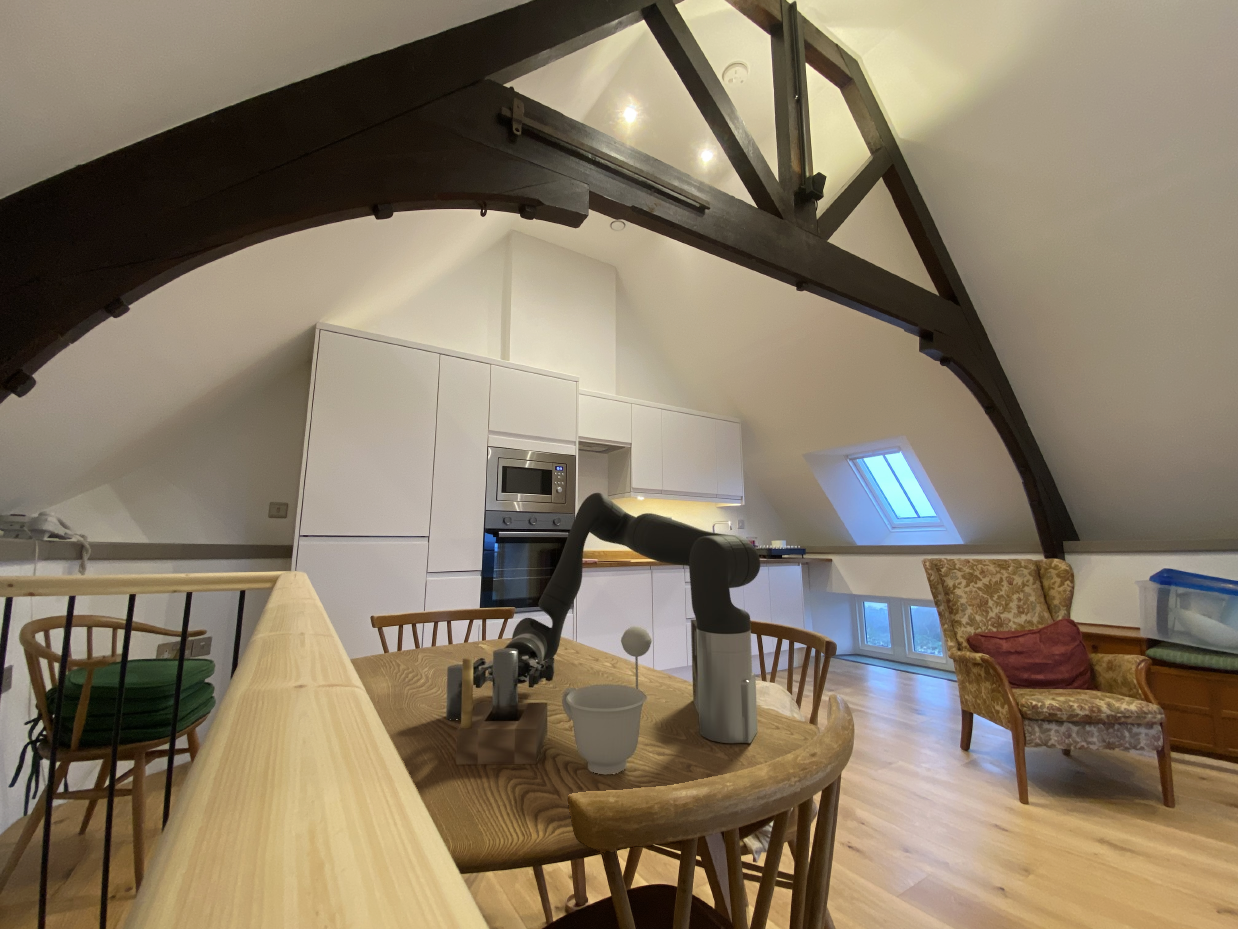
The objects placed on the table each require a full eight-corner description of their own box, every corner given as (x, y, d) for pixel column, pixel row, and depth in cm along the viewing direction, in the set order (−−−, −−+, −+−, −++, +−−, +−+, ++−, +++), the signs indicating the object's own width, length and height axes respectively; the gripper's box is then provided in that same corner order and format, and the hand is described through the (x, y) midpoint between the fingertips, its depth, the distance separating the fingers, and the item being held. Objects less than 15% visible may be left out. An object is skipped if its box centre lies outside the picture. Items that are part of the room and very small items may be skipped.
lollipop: (617, 707, 105) (617, 628, 106) (626, 698, 110) (625, 623, 112) (648, 710, 103) (647, 629, 105) (655, 700, 108) (654, 624, 110)
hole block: (547, 733, 92) (547, 642, 94) (536, 763, 80) (536, 659, 82) (477, 733, 92) (479, 643, 94) (455, 764, 80) (458, 660, 82)
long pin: (522, 744, 87) (522, 649, 89) (507, 754, 84) (508, 655, 85) (502, 740, 89) (503, 647, 90) (486, 750, 85) (487, 652, 87)
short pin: (472, 714, 101) (473, 665, 102) (458, 721, 98) (459, 670, 99) (456, 712, 103) (457, 663, 104) (441, 718, 100) (442, 668, 101)
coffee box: (732, 715, 100) (729, 626, 101) (697, 715, 100) (695, 626, 102) (724, 699, 109) (721, 617, 111) (692, 699, 109) (690, 618, 111)
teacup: (590, 739, 89) (589, 676, 90) (664, 763, 80) (662, 693, 81) (535, 764, 80) (535, 694, 81) (611, 795, 71) (611, 715, 72)
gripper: (485, 637, 103) (460, 657, 87) (560, 636, 103) (548, 656, 87) (485, 677, 102) (459, 706, 86) (560, 677, 102) (548, 705, 86)
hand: (504, 681), depth 86 cm, fingers open, 8 cm apart
